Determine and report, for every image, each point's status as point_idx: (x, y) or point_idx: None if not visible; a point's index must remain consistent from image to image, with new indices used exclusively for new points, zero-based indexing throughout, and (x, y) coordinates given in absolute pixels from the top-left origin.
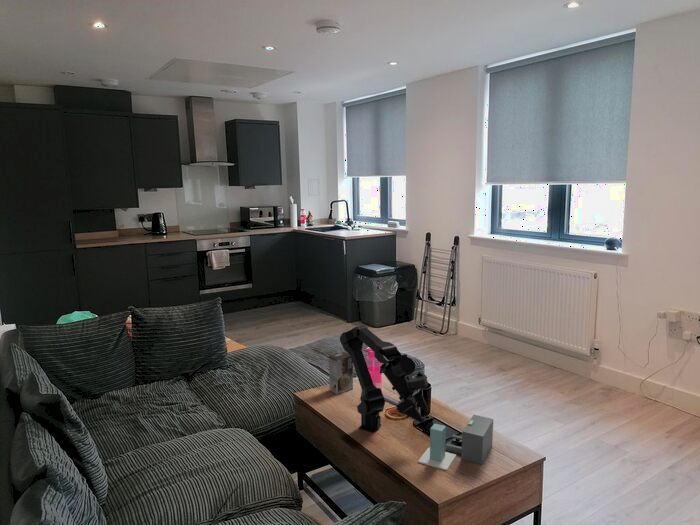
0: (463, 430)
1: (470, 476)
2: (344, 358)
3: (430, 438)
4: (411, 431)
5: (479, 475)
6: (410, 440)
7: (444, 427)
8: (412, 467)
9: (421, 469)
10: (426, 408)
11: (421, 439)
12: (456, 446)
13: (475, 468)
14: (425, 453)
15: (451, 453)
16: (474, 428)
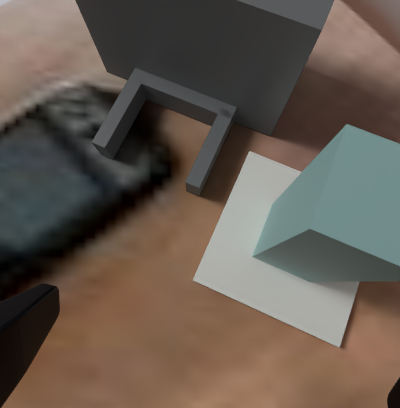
0: (304, 20)
1: (397, 117)
2: None
3: (370, 279)
4: None
5: (381, 84)
6: (109, 382)
7: (376, 139)
8: (388, 379)
9: (395, 329)
10: (35, 311)
11: (97, 314)
12: (212, 137)
13: (333, 91)
14: (258, 301)
15: (240, 171)
16: None
